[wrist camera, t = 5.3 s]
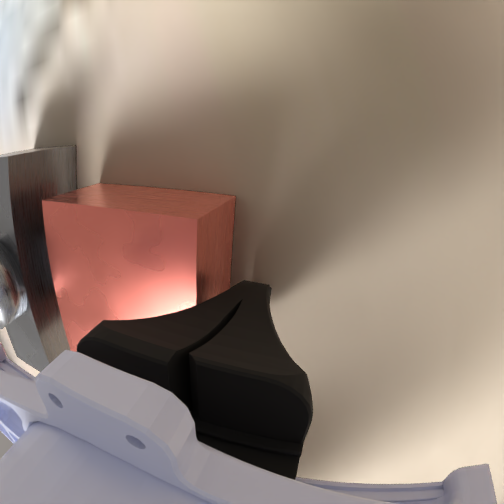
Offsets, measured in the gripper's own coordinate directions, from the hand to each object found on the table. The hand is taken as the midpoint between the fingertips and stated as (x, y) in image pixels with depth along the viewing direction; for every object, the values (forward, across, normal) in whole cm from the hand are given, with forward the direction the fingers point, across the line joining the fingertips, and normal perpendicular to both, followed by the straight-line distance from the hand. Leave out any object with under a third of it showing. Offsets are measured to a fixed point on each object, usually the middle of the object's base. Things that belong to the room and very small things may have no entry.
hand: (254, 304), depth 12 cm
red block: (+1, +5, 0) cm, 5 cm away
